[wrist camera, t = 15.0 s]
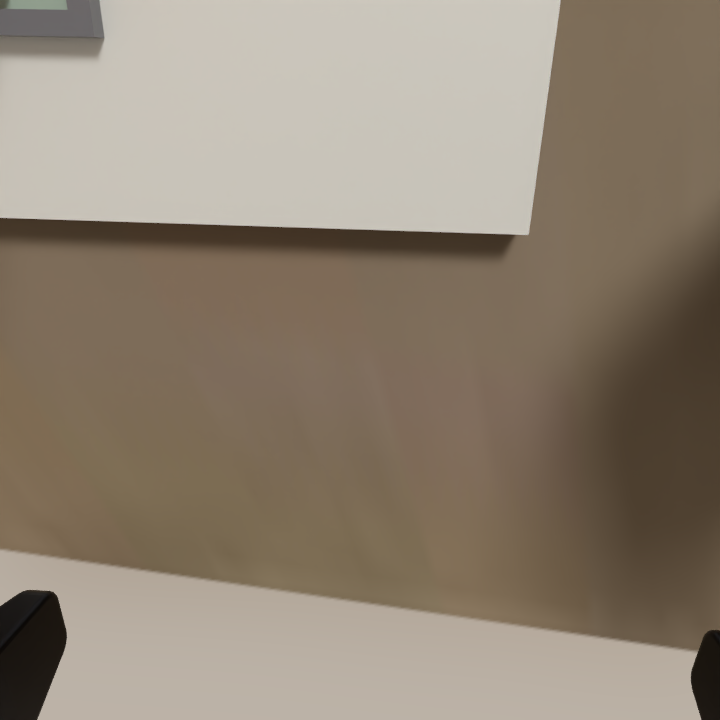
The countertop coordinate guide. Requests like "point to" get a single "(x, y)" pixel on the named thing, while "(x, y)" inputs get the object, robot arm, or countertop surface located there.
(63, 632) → the robot arm
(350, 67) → the build board
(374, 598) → the countertop surface
